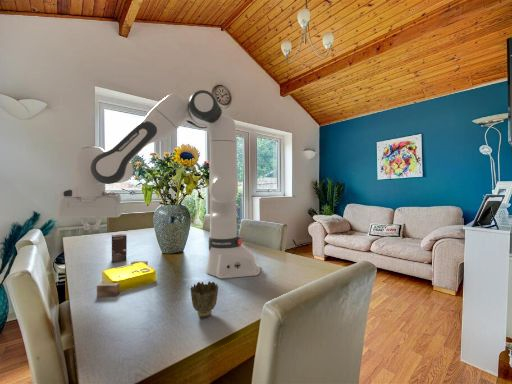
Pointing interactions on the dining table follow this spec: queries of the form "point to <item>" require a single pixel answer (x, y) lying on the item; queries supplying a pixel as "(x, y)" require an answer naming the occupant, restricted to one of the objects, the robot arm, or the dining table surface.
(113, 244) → the box
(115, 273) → the element tile
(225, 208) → the robot arm
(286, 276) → the dining table surface
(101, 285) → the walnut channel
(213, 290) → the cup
